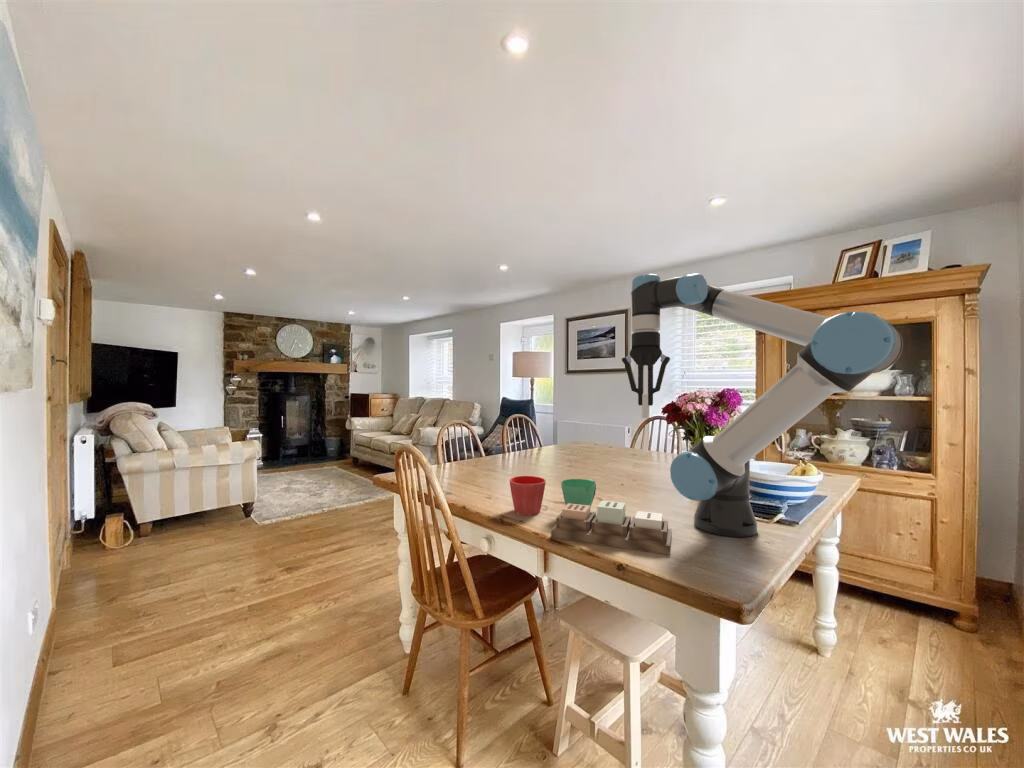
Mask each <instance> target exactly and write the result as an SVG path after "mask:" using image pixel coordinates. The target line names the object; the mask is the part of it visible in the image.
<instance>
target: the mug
mask: <svg viewBox="0 0 1024 768" xmlns="http://www.w3.org/2000/svg"><path fill="white" fill-rule="evenodd" d="M560 484H561V485H560V486H561V491H562V495H563V499H564V504H565V506H566V505H567V504H568V503H571V504H580V505H589V506H590V509H591V507H592V505H593V502H594V499H595V496H596V488H597V485H596V481H595V480H594V479H592V478H588V479H583V478H569V479H564V480H562V481H561V483H560Z"/></svg>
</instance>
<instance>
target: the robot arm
mask: <svg viewBox="0 0 1024 768" xmlns="http://www.w3.org/2000/svg"><path fill="white" fill-rule="evenodd" d="M631 283H632V284H631V292H630V295H631V332H632V334H631V349H630V351H629V354H628V355H627V356H624V357H622V358H621V361H622V363H623V364H624V366H625V369H626V374H627V377H628V378H627V379H628V381H629V387H630V389H631V392H634V393H636V394H637V402H638V403H637V404H638V406H641V407H642V409H641V410H642V414H641V415H642V417H641V418H642V419H648V418H649V417H650V410H649V409H650V406H653V404H654V394H656V393H657V392H660V390H661V387H662V383H663V378H664V375H665V371H666V367H667V365H668V364H669V362H670V361H671V358H670V356H667V355H665V354H663V351H662V350H661V333H660V332H659V331H660V330H661V310H663V309H668V308H669V309H670V308H678V307H679V308H684V309H688V310H691V311H695V312H698V313H701V314H705V315H709V316H711V317H714V318H718V319H721V320H724V321H727V322H731V323H733V324H737V325H739V326H742V327H746V328H748V329H752V330H754V331H757V332H761V333H763V334H764V333H765V334H767V335H770V336H773V337H777V338H780V339H782V340H786V341H789V342H790V343H794V344H797V345H800V346H804V347H802V348H801V350H799V351H798V352H797V354H796V357H797V359H796V360H797V361H796V365H794V366H793V367H792V368H791V369H790V370H789V371H788V372H787V373H785V374H784V375H783V376H782V377H781V378H780V379H779V380H778V381H776V382H775V383H774V384H773V385H772V386H771V387H769V388H768V389H767V390H766V391H765V392H764V393H763V394H761V396H760V397H758V398H757V399H756V400H754V402H752V404H751V405H749V406H748V407H747V408H746V409H745V410H743V411H742V412H741V413H740V414H739V415H738V416H737V417H736V418H735V419H734V420H732V421H731V422H730V423H729V424H728V425H727V426H726V427H724V428H723V429H722V430H720V432H719V433H718V434H716V435H714V436H713V435H705V436H704V437H702V439H700V441H699V442H697V444H695V445H694V446H693V447H692V448H690V449H689V450H688V451H684V452H681V453H679V454H678V455H676V457H674V459H673V460H672V461H671V463H670V468H669V472H670V479H671V482H672V485H673V487H674V488H675V489H676V491H678V493H679V494H680V495H682V497H684V498H686V499H688V500H691V501H697V502H698V504H697V507H696V510H695V513H694V516H693V520H694V521H693V524H694V526H695V527H696V528H698V529H700V530H701V531H704V532H707V533H709V534H713V535H719V536H724V537H730V538H732V537H733V538H749V537H753V536H755V535H756V534H758V522H757V520H756V517H755V514H754V513H755V512H753V509H752V508H753V507H752V505H751V502H750V481H751V480H750V470H751V469H750V466H751V463H750V462H751V460H752V459H753V458H754V457H755V456H757V455H758V454H759V453H760V452H762V451H763V450H764V449H766V448H767V447H768V446H769V445H770V444H772V443H773V442H774V441H776V440H777V439H778V438H780V436H781V435H783V434H784V433H785V432H786V431H788V430H790V428H792V427H793V426H794V425H795V424H797V423H798V422H799V421H800V420H802V419H803V418H805V417H806V416H807V415H808V414H809V413H811V412H812V411H813V410H814V409H815V408H816V407H818V406H819V405H820V404H822V403H823V402H824V401H826V400H827V399H828V398H830V396H832V395H833V394H835V393H837V394H838V393H844V394H845V393H849V392H850V391H852V390H853V389H854V388H855V387H857V386H859V384H861V383H862V382H864V381H865V380H866V379H867V378H868V377H870V376H871V375H872V374H876V373H879V372H883V371H885V370H887V369H888V368H890V367H892V366H893V365H894V364H896V362H897V361H898V359H900V357H901V355H902V353H903V349H904V341H903V337H902V334H901V333H900V332H899V330H898V329H897V328H896V327H895V326H894V325H893V324H891V323H890V322H888V321H887V320H885V318H883V317H881V316H879V315H877V314H875V313H872V312H867V311H849V312H848V311H846V312H842V313H838V314H836V315H833V316H830V317H829V316H824V315H822V314H818V313H815V312H814V313H813V312H811V311H807V310H802V309H799V308H795V307H792V306H788V305H784V304H780V303H777V302H772V301H770V300H765V299H762V298H758V297H753V296H750V295H747V294H743V293H739V292H735V291H732V290H728V289H725V288H723V287H722V288H721V287H717V286H715V285H714V286H713V285H710V284H708V281H707V280H706V278H705V277H704V275H703V274H701V273H691V274H684V275H681V276H675V277H671V278H668V279H667V278H666V279H662V280H661V277H660V276H659V274H654V273H648V274H639V275H637V276H635V277H634V278H633V279H632V282H631ZM659 359H660V360H659ZM632 360H633V361H634V362H635V365H637V370H638V371H637V384H636V380H635V377H634V372H633V369H632V365H631V363H632ZM658 361H660V362H661V364H660V368H659V371H658V376H657V378H656V383H655V387H654V365H655V364H656V363H657V362H658ZM645 366H647V393H644V368H645Z"/></svg>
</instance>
